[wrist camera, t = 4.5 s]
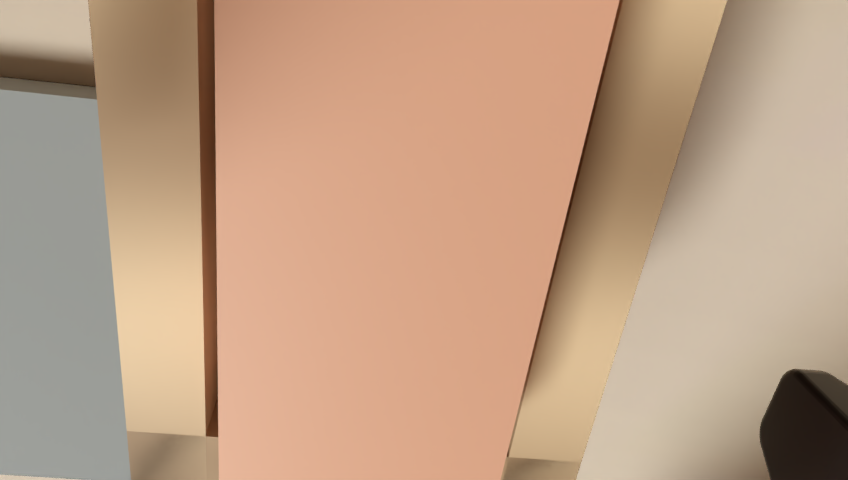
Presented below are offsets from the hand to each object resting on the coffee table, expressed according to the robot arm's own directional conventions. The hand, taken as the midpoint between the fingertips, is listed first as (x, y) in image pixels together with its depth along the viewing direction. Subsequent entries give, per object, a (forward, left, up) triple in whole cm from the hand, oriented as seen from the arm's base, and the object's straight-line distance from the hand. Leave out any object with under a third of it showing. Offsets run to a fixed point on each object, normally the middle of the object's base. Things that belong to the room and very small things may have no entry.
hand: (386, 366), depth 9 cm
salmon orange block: (+1, 0, -5) cm, 5 cm away
